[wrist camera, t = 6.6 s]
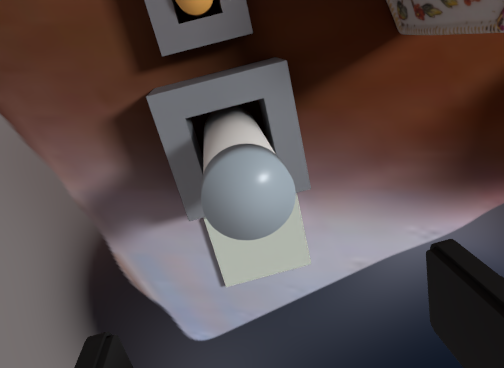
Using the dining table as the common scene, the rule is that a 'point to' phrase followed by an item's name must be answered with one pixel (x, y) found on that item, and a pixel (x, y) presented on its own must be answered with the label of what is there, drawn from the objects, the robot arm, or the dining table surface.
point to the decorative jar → (447, 16)
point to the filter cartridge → (243, 178)
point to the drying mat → (261, 251)
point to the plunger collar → (197, 25)
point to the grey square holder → (218, 97)
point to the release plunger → (195, 6)
